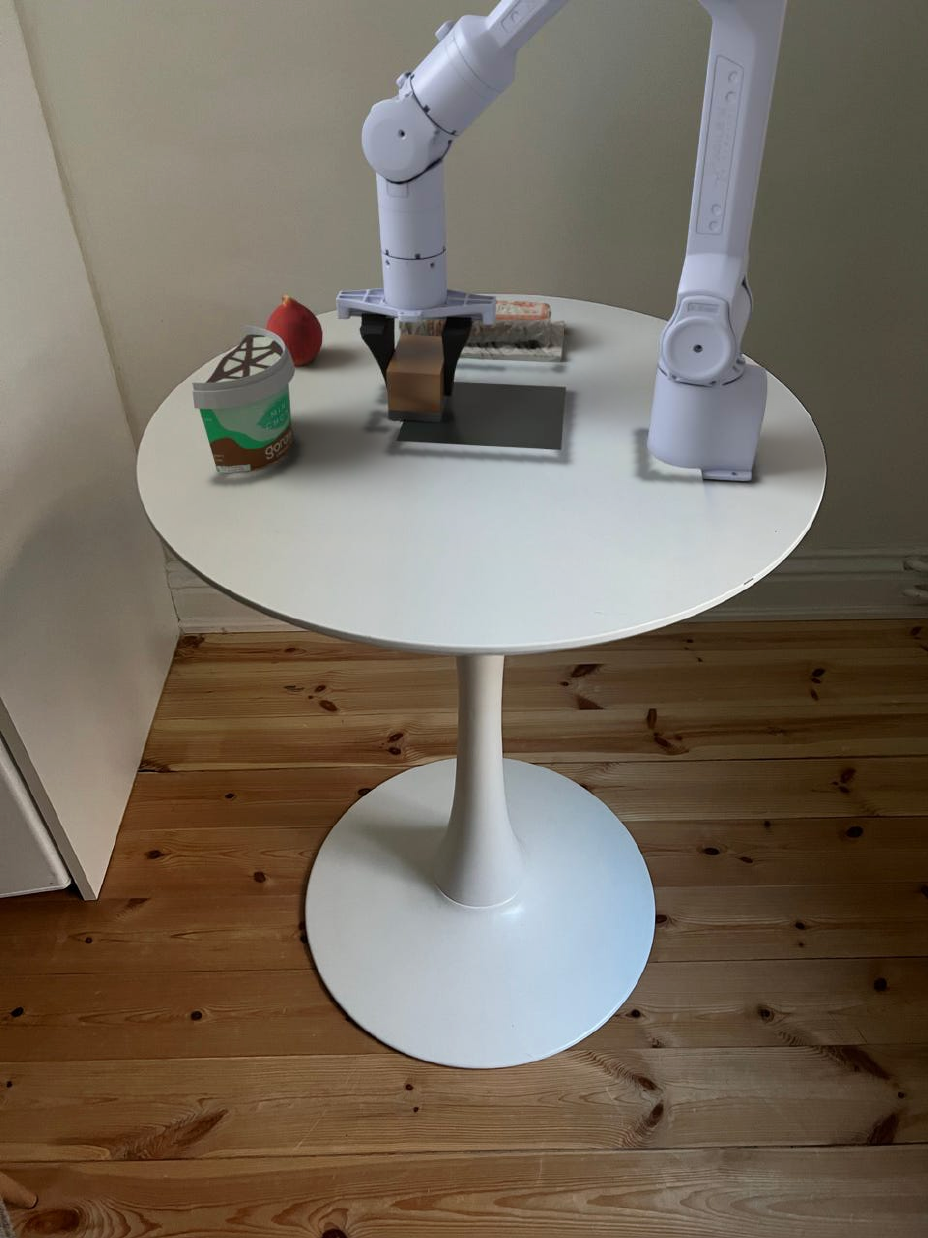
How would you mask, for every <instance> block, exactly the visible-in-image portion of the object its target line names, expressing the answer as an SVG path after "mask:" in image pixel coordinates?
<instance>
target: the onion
mask: <svg viewBox="0 0 928 1238" xmlns="http://www.w3.org/2000/svg"><path fill="white" fill-rule="evenodd" d="M281 300H282V301H281V302H282V303H281V304H280V305H278V306H277V307H276V308H274V311H273V312H272V313H271V314H270V316H269V318H268V320H267V323H266V327H265V330H268V331H270V332H273V333H275V334H276V335H278V336H279V337H280V338H281V339H282V340H283V342H284V344H285V345H286V346H287V348H288V350H289V353H290V355H291V358H292V360H293V363H294V367H303V366H306V365H307V364H308V365H309V364H310V363H311V362H312V361H313V360H314V359H315V358H316V357H317V356H318V354H319V353H320V351H321V348H322V346H323V332H324V331H323V328H322V325H321V322H320V321H319V319H318V317H317V315H316V314H315V313H314V312H313V311H312V310H311V309H309V308H308V307H307V306H305V305H304V304H303V303H301V302H299V301H298V300H297V299H294V298H293V297H292V296H291V295H289V294H284V295H282V296H281Z"/></svg>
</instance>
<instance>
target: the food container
mask: <svg viewBox="0 0 928 1238" xmlns="http://www.w3.org/2000/svg"><path fill="white" fill-rule="evenodd" d="M243 329H244V335H245V337H243V338H242V340H241V342H240V343H239V344H238V345H237V346H236V347H235V349H233V350H232V351H229V352H228V353H227V354H226V355H225V356H223V357H222V358H221V360H220V362H219V363H218V364H217V366H216V368H215V370H214V371H213V373H212V374H211V375H210V377H209V378H208V379H207V380H205V381H206V382H194V381H193V382H192V388H193V390H192V397H193V405H194V406H193V407H194V409H197V410H199V413H200V416H201V420H202V423H203V427H204V430H205V435H206V437H207V439H208V440H207V441H208V444H209V447H210V452H211V455H212V459H213V462H214V465H215V468H216V473H222V474H235V473H246V472H247V473H248V472H252V471H255V470H259V469H263V468H265V467H268V466H270V465H271V464H274V463H277V462H278V461H280V460H281V459H282V458H284V457H285V456H286V455H287V454H288V453H289V452H290V450H291V448H292V446H293V442H294V441H293V428H292V414H291V413H292V412H291V400H290V399H291V398H290V386H289V385H290V384H289V383H290V382H291V381H292V379H293V378H294V376H295V373H296V368H295V367H296V366H294V363H293V360H292V358H291V355H290V353H289V350H288V348H287V346H286V345H285V344H284V342H283V340H282V339H281V338H280V337H279V336H278V335H276V334H275V333H273V332H270V331H268V330H266V328H261V327H258V326H253V325H243Z"/></svg>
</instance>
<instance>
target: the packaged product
mask: <svg viewBox="0 0 928 1238" xmlns="http://www.w3.org/2000/svg"><path fill="white" fill-rule="evenodd" d="M551 317H552V309H551V305H550V304H549V303H547V302H535V301H525V300H521V301H517V300H502V299H501V300H500V299H498V300H497V299H496V318H495V322H494V325H484V324H482V321H473V323H472V327H471V331H470V335H469V337H468V339H467V342H466V344H465V346H464V348H463V350H462V352H461V355H460V357H459V359H473V360H490V361H491V360H492V361H516V362H517V361H518V362H537V363H560V362H561V361H562V359H563V345H564V342H565V341H564V339H565V338H564V337H565V320H555V321H553V320H551V319H552V318H551ZM445 322H446V320H432V319H422V320H421V321H420V322H416V323H413V322H400V321H399V320H398V330H399V337H398V339H399V338H400V336H401V334H407V335H422V336H438V337H441V333H442V330H443V327H444V325H445Z"/></svg>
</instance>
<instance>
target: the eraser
mask: <svg viewBox="0 0 928 1238" xmlns="http://www.w3.org/2000/svg"><path fill="white" fill-rule="evenodd" d="M399 336H400V335H399ZM386 374H387V388H386V393H387V409H388V410H387V412H388V419H389V420H395V421H396V420H400V421H403V420H408V421H423V422H437V423H440V422H441V418H442V415H443V411H444V408H445V404H446V400H447V397H448V396H444V356H443V345H442V337H438V336H422V335H407V334H401V336H400V338H399V337H398V341H397V343H396V345H395V351H394V353H393V356H392V358H391V361H390V363H389V366H388V369H387V371H386Z"/></svg>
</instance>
